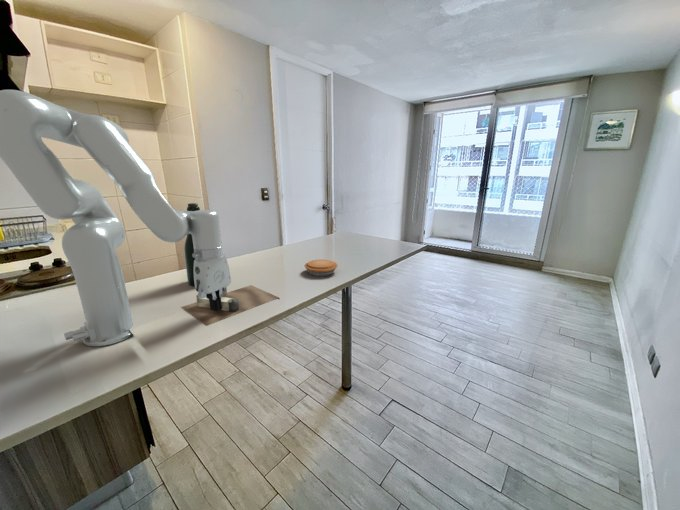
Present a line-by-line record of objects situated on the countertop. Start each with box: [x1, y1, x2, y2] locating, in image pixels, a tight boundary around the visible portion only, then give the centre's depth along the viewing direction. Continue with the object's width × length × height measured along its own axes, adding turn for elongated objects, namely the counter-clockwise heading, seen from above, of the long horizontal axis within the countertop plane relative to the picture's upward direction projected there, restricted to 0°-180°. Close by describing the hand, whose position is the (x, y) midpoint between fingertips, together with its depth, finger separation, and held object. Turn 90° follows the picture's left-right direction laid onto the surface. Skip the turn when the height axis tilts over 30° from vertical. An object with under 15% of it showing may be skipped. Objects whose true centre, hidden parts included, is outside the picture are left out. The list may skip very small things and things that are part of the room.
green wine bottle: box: [183, 202, 201, 288], centre depth 109 cm, size 10×10×33 cm
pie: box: [304, 259, 339, 277], centre depth 130 cm, size 16×16×5 cm
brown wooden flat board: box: [180, 284, 280, 327], centre depth 95 cm, size 26×18×4 cm
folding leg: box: [195, 294, 239, 312], centre depth 90 cm, size 15×3×3 cm, turn 75°
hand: (216, 309), depth 87 cm, fingers closed
